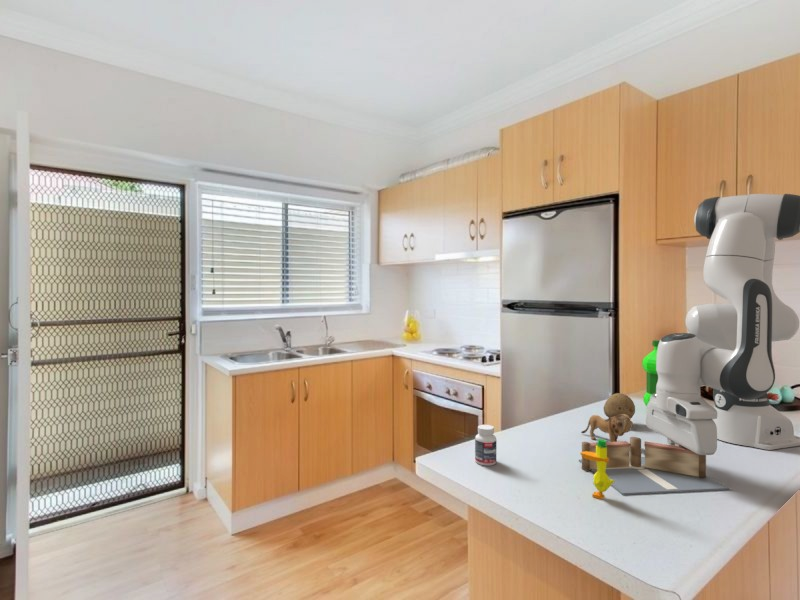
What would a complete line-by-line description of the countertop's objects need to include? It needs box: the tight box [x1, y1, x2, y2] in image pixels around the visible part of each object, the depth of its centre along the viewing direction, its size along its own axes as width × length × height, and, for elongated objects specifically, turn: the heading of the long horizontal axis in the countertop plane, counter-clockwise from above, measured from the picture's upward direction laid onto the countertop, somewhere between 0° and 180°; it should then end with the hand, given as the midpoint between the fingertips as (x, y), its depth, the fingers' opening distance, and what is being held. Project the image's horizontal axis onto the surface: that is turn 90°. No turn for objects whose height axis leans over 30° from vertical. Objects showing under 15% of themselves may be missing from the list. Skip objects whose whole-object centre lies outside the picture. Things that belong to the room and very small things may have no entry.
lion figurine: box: [580, 414, 634, 442], centre depth 121 cm, size 15×5×9 cm, turn 35°
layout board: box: [579, 456, 731, 496], centre depth 99 cm, size 24×18×1 cm
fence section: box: [581, 436, 642, 472], centre depth 102 cm, size 15×2×7 cm, turn 95°
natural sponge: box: [603, 392, 636, 419], centre depth 136 cm, size 9×9×10 cm
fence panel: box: [643, 440, 707, 478], centre depth 99 cm, size 12×2×6 cm, turn 59°
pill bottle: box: [474, 424, 497, 467], centre depth 107 cm, size 5×5×9 cm
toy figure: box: [579, 438, 615, 500], centre depth 88 cm, size 7×4×12 cm, turn 50°
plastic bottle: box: [642, 339, 661, 407], centre depth 151 cm, size 10×10×25 cm
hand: (677, 459), depth 101 cm, fingers closed
